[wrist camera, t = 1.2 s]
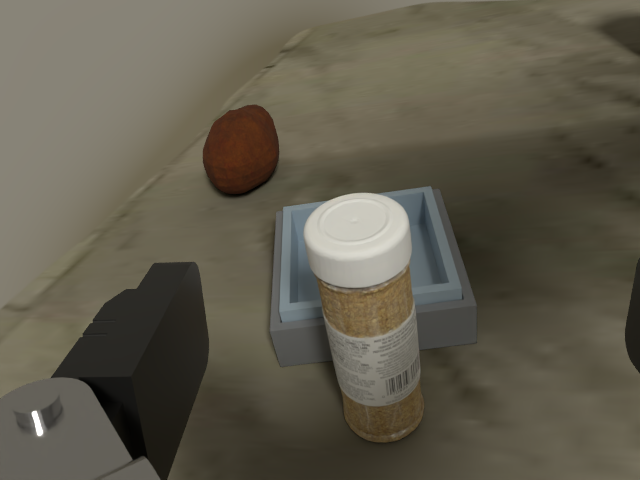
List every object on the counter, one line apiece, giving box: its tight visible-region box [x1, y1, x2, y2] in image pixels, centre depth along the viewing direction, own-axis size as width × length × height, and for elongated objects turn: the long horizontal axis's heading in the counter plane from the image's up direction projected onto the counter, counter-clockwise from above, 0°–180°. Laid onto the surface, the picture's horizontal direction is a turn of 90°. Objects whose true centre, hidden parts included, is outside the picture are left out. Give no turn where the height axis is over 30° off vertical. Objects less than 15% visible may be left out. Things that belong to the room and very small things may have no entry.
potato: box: [203, 105, 279, 194], centre depth 53 cm, size 7×9×6 cm
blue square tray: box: [270, 186, 477, 367], centre depth 40 cm, size 12×12×4 cm
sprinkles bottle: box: [303, 193, 424, 443], centre depth 30 cm, size 5×5×13 cm
